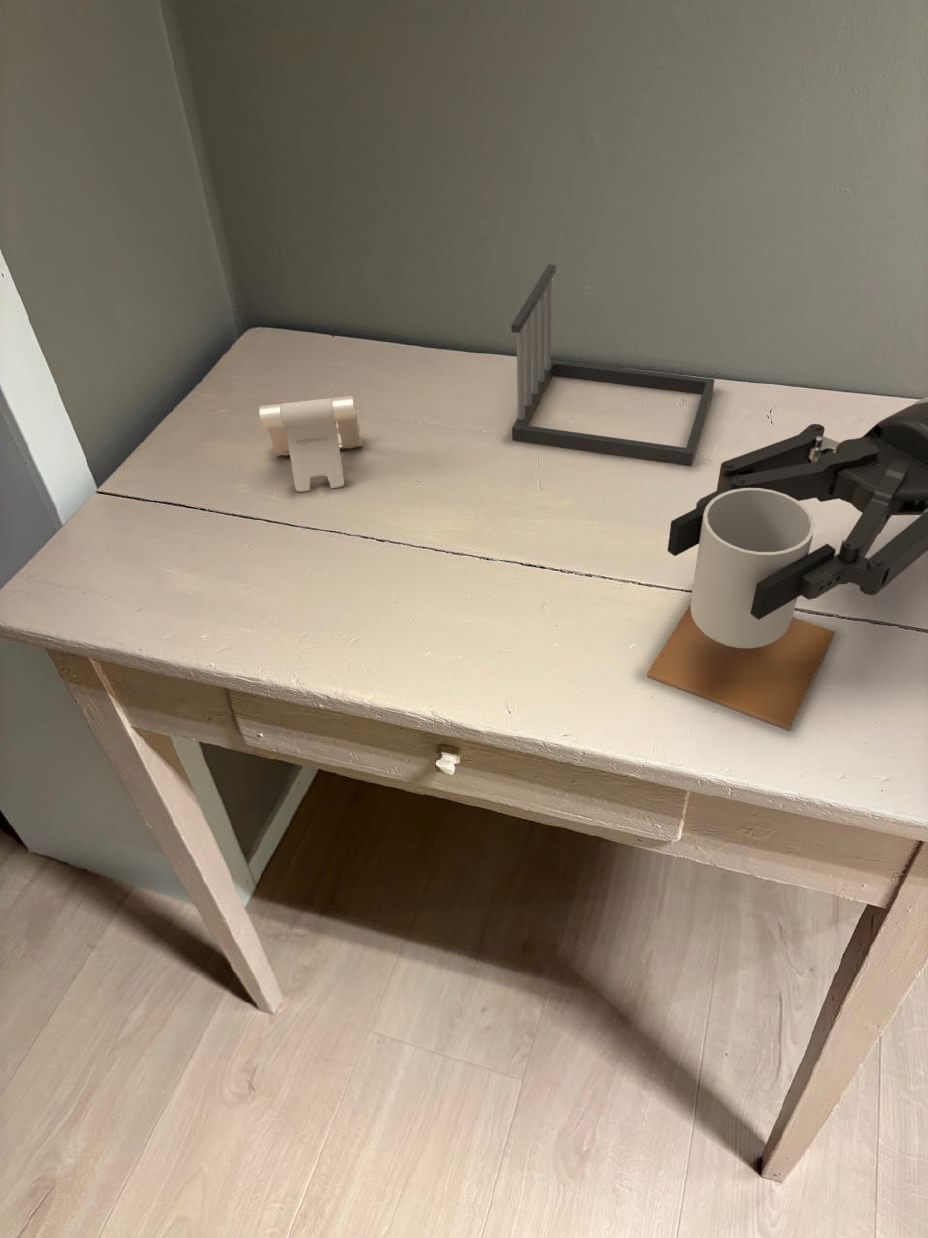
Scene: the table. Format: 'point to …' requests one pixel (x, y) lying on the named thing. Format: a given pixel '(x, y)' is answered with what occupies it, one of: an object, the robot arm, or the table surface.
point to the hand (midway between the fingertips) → (714, 569)
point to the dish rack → (540, 369)
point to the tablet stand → (313, 436)
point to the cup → (746, 563)
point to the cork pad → (745, 669)
